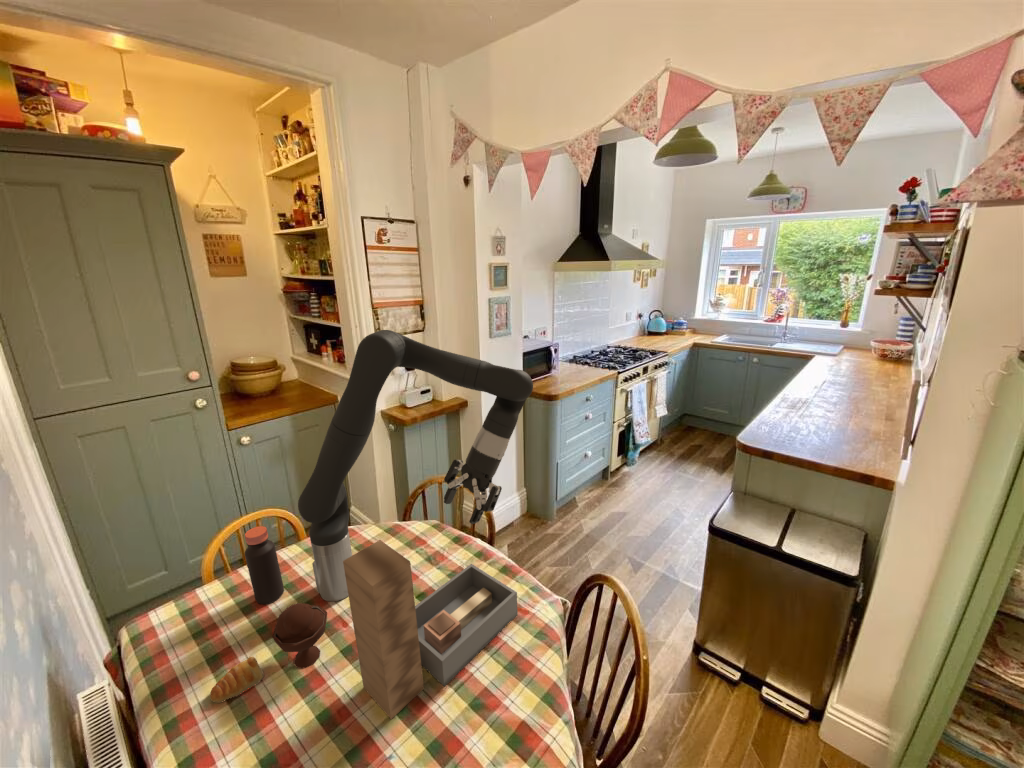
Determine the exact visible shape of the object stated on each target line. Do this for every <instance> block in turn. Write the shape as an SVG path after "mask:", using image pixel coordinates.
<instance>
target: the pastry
mask: <svg viewBox="0 0 1024 768" xmlns="http://www.w3.org/2000/svg"><path fill="white" fill-rule="evenodd" d="M264 676H265V674H264V672H263V669H262V668H261V666H260V664H259V663H258V660H257V658H256V657H255V656H249V657H248V658H247V659H245V660H243V661H241V662H239V663H238V664H236V665H234V666H233V667H231V668H230V670H228V672H226V673H225V674H224V676H222V678H220V679H219V680H218V681H217V682H216V683H215V684H214V686H213V687H212V688H211V691H210V694H209V698H210V700H211V702H213V703H216V702H220V703H223V702H222V701H224V700H225V701H227V700H229V698H230V699H233V698H235V697H234V696H236V697H238V696H237V695H239V694H240V693H241V694H243V693H244V692H243V691H245V690H246V691H248V690H249V689H248V688H250V689H251V687H252V686H253V687H255V686H256V685H257V684H259V682H261V681H262V680H263V678H264ZM255 684H256V685H255ZM253 687H252V688H253ZM247 689H248V690H247ZM246 691H245V692H246ZM242 692H243V693H242ZM239 696H240V695H239ZM232 697H233V698H232ZM226 699H227V700H226ZM225 701H224V702H225Z"/></svg>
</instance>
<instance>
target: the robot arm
mask: <svg viewBox="0 0 1024 768" xmlns="http://www.w3.org/2000/svg"><path fill="white" fill-rule="evenodd" d="M396 368H407V369H413V370H419V371H422V372H425V373H428V374H430V375H433V376H434V377H436V378H439V379H440V380H442V381H444V382H447V383H448V384H452V385H455V386H458V387H462V388H465V389H470V390H473V391H478V392H482V393H483V392H484V393H488V394H490V395H493V396H496V397H495V399H494V402H493V404H492V406H491V407H490V409H489V411H488V412H487V415H486V417H485V419H484V421H483V423H482V426H481V428H480V429H479V431H478V432H477V434H476V436H475V438H474V441H473V442H472V445H471V448H470V449H469V452H468V454H467V456H466V459H465V463H464V461H463V460H462V459H453V461H452V462H451V465H450V466H449V468H448V470H447V472H446V475H445V477H443V482H444V483H446V484H447V489H446V491H445V494H444V496H443V503H444V504H445V505H451V504H452V502H453V500H454V498H455V496H456V493H457V491H458V488H460V487H462V486H463V488H465V489H468V491H469V492H470V493H471V494H473V496H474V497H473V498H474V500H475V503H476V507H475V508H474V509H473V511H472V515H470V516H471V517H470V519H469V523H470V524H471V525H473V524H475V525H476V524H477V523H479V522H480V521H481V519H482V516H483V515H484V512H485V513H486V512H493V511H494V510H495V507H496V505H497V502H498V499H499V497H500V495H501V492H502V488H503V487H502V486H501V485H496V484H495V483H494V482H493V478H494V476H495V475H496V473H497V470H498V468H499V466H500V465H501V463H502V460H503V459H504V456H505V453H506V450H507V448H508V445H509V442H510V440H511V437H512V435H513V434H514V433H513V432H514V430H515V428H516V426H517V425H518V424H517V423H518V420H519V415H520V413H521V411H522V409H523V408H524V405H525V404H526V401H527V399H528V398H529V397H530V396H531V394H532V392H533V391H534V382H533V379H532V378H531V375H530V374H528V373H527V372H526V371H525V370H522V369H515V368H510V367H506V366H502V365H501V366H500V365H496V364H493V363H491V362H488V361H486V360H482V359H478V358H475V357H471V356H467V355H463V354H458V353H455V352H454V353H453V352H450V351H447V350H442V349H439V348H436V347H433V346H430V345H427V344H425V343H422V342H419V341H416V340H414V339H412V338H410V337H407V336H405V335H403V334H401V333H398V332H396V331H393V330H390V329H382V330H378V331H375V332H372V333H369V334H368V335H366V336H365V337H363V338H362V340H361V341H360V342H359V344H358V346H357V349H356V352H355V356H354V360H353V363H352V367H351V370H350V375H349V379H348V382H347V385H346V387H345V389H344V391H343V393H342V395H341V398H340V400H339V402H338V405H337V407H336V408H335V409H336V410H335V411H334V413H333V416H332V418H331V421H330V423H329V426H328V429H327V430H326V431H327V432H326V434H325V437H324V440H323V442H322V445H321V448H320V451H319V455H318V458H317V460H316V463H315V467H314V470H313V472H312V473H311V475H310V477H309V479H308V481H307V483H306V485H305V487H304V489H303V490H302V492H301V493H300V494H299V496H298V501H297V509H298V512H299V514H300V516H301V518H302V519H304V521H306V522H308V523H310V527H309V531H308V532H309V533H308V534H309V541H310V545H311V550H312V555H313V560H314V561H313V562H312V563H311V565H312V570H313V574H314V581H315V585H316V590H317V593H318V594H320V597H321V598H322V599H323V600H324V601H327V602H337V601H341V600H344V599H346V598H347V597H349V595H348V589H347V583H346V577H345V571H344V565H343V561H344V560H346V559H347V558H349V557H351V556H353V551H352V544H351V539H350V532H349V521H350V511H349V501H348V500H349V499H348V495H347V494H348V492H347V489H346V486H345V484H344V481H345V479H346V477H347V476H348V474H349V472H350V471H351V469H352V468H353V467H354V465H355V463H356V461H357V460H358V459H359V456H360V455H361V453H362V451H363V450H364V448H365V445H366V444H367V441H368V439H369V437H370V434H371V432H372V430H373V428H374V423H375V420H376V419H375V418H376V414H377V413H376V411H377V404H378V403H377V402H378V398H379V395H380V393H381V391H382V389H383V387H384V385H385V383H386V381H387V379H388V377H389V376H390V374H391V372H393V370H394V369H396ZM459 472H461V476H459V477H457V476H458V474H459ZM487 491H488V492H487ZM488 493H489V494H488Z"/></svg>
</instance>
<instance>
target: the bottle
mask: <svg viewBox="0 0 1024 768" xmlns="http://www.w3.org/2000/svg"><path fill="white" fill-rule="evenodd" d="M244 539H245V542H246V545H247V547H246V549H245V550H244V557H245V561H246V566H247V571H248V574H249V579H250V582H251V586H252V590H253V595H254V598H255V601H256V603H257V604H259V605H268V604H271V603H274V602H276V601H277V600H278V599H280V598H281V597H282V596H283V594H284V591H285V586H284V582H283V578H282V574H281V569H280V563H279V560H278V556H277V549H276V545H275V542H273V540H271V539H269V532H268V529H267V527H266V526H263V525H262V526H261V525H260V526H259V525H258V526H255V527H253V528H250V529H249V530H247V531H246V532H245V534H244Z"/></svg>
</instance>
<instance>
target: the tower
mask: <svg viewBox="0 0 1024 768" xmlns="http://www.w3.org/2000/svg"><path fill="white" fill-rule="evenodd" d="M343 565H344V571H345V577H346V583H347V589H348V595H349V596H348V601H349V602H348V603H349V607H350V613H351V619H352V625H353V626H352V627H353V632H354V637H355V643H356V648H357V649H356V650H357V655H358V656H357V657H358V660H359V661H358V662H359V668H360V674H361V675H360V676H361V679H362V684H363V685H362V687H363V689H364V690H365V691H366V693H368V695H369V696H370V697H371V698H372V699H373V700H374V701H375V703H376V704H377V705H378V706H379V707H380V708H381V710H382V711H383V712H384V713H385V714H386V715H387V717H389V719H390V720H392V719H394V717H395V716H396V715H398V714H399V713H400V712H401V711H402V710H403V709H404V708H405V707H406V706H407V705H409V703H411V702H412V700H414V699H415V698H416V697H417V696H418V695H419V694H420V693H421V692H422V691H423V690H424V689H425V687H424V679H423V678H424V677H423V668H422V667H423V666H422V665H421V657H420V648H419V638H418V629H417V620H416V610H415V606H416V604H415V603H416V602H415V591H414V586H413V585H414V584H413V583H414V582H413V575H412V566H411V561H410V560H409V559H408V558H407V557H405V556H403V555H402V554H401V553H399V552H398V551H397V550H395V549H394V548H392V547H391V546H389V545H388V544H387V543H385V542H384V541H382V540H381V539H379V540H377V541H375V542H374V543H372V544H370V545H369V546H366V547H364V548H363V549H362V550H359V551H358V552H357V553H354V554H352V556H351V557H349V558H347V559H346V560H344V561H343Z"/></svg>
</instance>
